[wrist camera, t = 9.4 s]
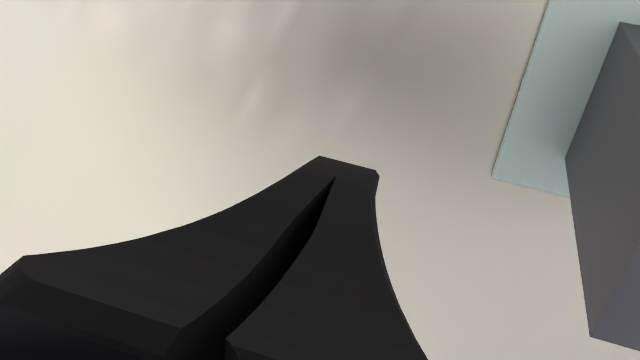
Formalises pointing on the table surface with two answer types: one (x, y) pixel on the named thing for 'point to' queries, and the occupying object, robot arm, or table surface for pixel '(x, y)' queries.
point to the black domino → (610, 193)
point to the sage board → (558, 90)
